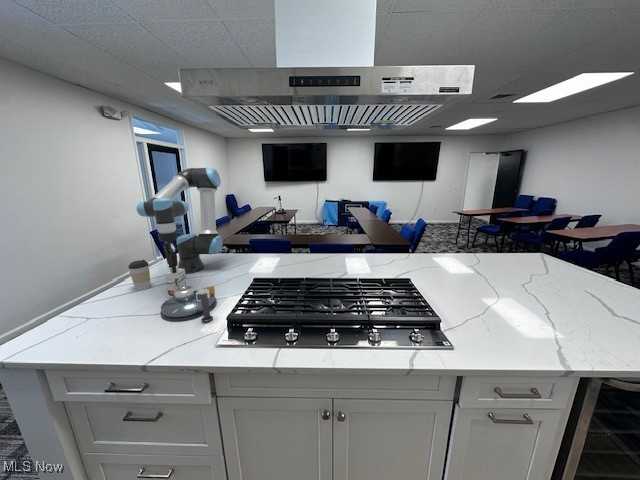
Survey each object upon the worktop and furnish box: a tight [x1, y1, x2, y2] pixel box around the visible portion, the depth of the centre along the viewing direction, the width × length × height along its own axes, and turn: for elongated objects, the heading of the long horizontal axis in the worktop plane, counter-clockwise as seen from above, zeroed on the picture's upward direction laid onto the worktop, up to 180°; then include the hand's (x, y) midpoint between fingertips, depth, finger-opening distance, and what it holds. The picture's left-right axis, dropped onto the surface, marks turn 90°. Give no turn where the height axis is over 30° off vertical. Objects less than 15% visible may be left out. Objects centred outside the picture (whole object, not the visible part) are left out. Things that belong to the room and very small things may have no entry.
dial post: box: [196, 288, 214, 324], centre depth 104 cm, size 5×5×13 cm
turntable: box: [160, 285, 216, 318], centre depth 114 cm, size 22×22×6 cm
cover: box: [174, 285, 195, 302], centre depth 117 cm, size 8×8×6 cm
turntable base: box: [160, 297, 218, 323], centre depth 115 cm, size 23×23×1 cm
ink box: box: [164, 267, 188, 296], centre depth 130 cm, size 9×5×12 cm, turn 168°
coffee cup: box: [128, 259, 151, 291], centre depth 135 cm, size 9×9×15 cm
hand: (174, 278), depth 123 cm, fingers closed
